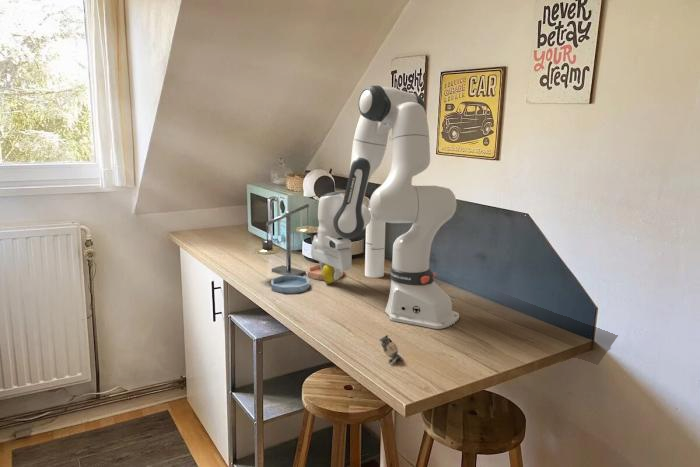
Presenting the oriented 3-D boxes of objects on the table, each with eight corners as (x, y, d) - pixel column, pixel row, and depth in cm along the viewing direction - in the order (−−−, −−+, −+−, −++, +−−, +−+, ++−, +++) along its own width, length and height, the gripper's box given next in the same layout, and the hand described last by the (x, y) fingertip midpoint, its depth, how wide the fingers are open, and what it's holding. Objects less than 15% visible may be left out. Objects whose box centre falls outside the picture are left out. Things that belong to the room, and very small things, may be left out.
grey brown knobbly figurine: (373, 359, 135) (374, 336, 134) (387, 354, 139) (388, 331, 138) (390, 366, 132) (392, 342, 131) (403, 360, 136) (405, 337, 135)
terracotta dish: (349, 274, 205) (349, 268, 204) (327, 282, 194) (327, 276, 194) (322, 267, 212) (323, 262, 212) (300, 275, 202) (300, 269, 202)
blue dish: (316, 286, 190) (316, 280, 189) (291, 296, 180) (290, 289, 179) (289, 279, 197) (289, 273, 197) (263, 288, 187) (263, 281, 187)
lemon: (325, 286, 190) (325, 264, 188) (319, 282, 195) (320, 260, 193) (340, 285, 192) (340, 263, 190) (334, 280, 197) (334, 259, 195)
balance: (303, 261, 220) (303, 200, 215) (326, 267, 213) (327, 204, 208) (247, 279, 196) (245, 211, 191) (270, 286, 189) (269, 215, 184)
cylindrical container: (371, 271, 209) (373, 206, 204) (387, 274, 205) (389, 209, 200) (361, 275, 204) (362, 209, 198) (377, 278, 200) (379, 211, 194)
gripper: (306, 234, 196) (306, 270, 199) (339, 245, 180) (339, 285, 183) (321, 232, 200) (321, 268, 203) (355, 243, 184) (354, 282, 187)
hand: (330, 276), depth 193 cm, fingers closed on lemon, 5 cm apart
